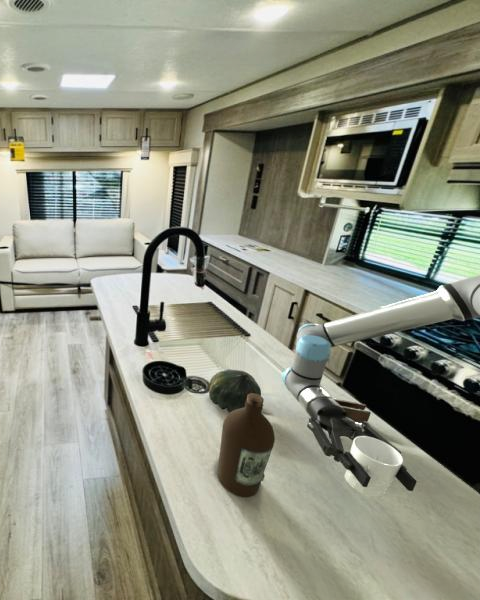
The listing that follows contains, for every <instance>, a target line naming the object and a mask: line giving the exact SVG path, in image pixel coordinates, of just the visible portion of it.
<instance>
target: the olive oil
mask: <svg viewBox="0 0 480 600" xmlns="http://www.w3.org/2000/svg"><path fill="white" fill-rule="evenodd" d="M264 400H265V399H264V397H263V396H262V395H261V396H260V395H258V394H254V393H250V394H248V396H247V399H246V403H245V407H244V408H240V409H236V410H234V411H232V412H228V414H227V415H226V417H225V418H224V420H223V423H222V429H221V439H220V448H219V456H218V462H217V463H218V464H217V470H216V475H217V479H218V481H219V483H220V484H221V485H222V486H223V488H225V489H226V490H227V491H229V492H230V493H232V494H233V495H236V496H239V497H243V498H249V497H253V496H255V495H256V494H257V493H258V492H259V490H260V486H261V484H262V482H263V481H264V479H265V476H266V475H265V471H266V468H267V466H268V463H269V460H270V457H271V454H272V451H273V449H274V445H275V441H276V437H275V430H274V427H273V425H272V424H271V422H270V421H269V419H268V418H267V417H266V416H265V415H264V414H263V409H264V408H263V407H264V402H265V401H264Z"/></svg>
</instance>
